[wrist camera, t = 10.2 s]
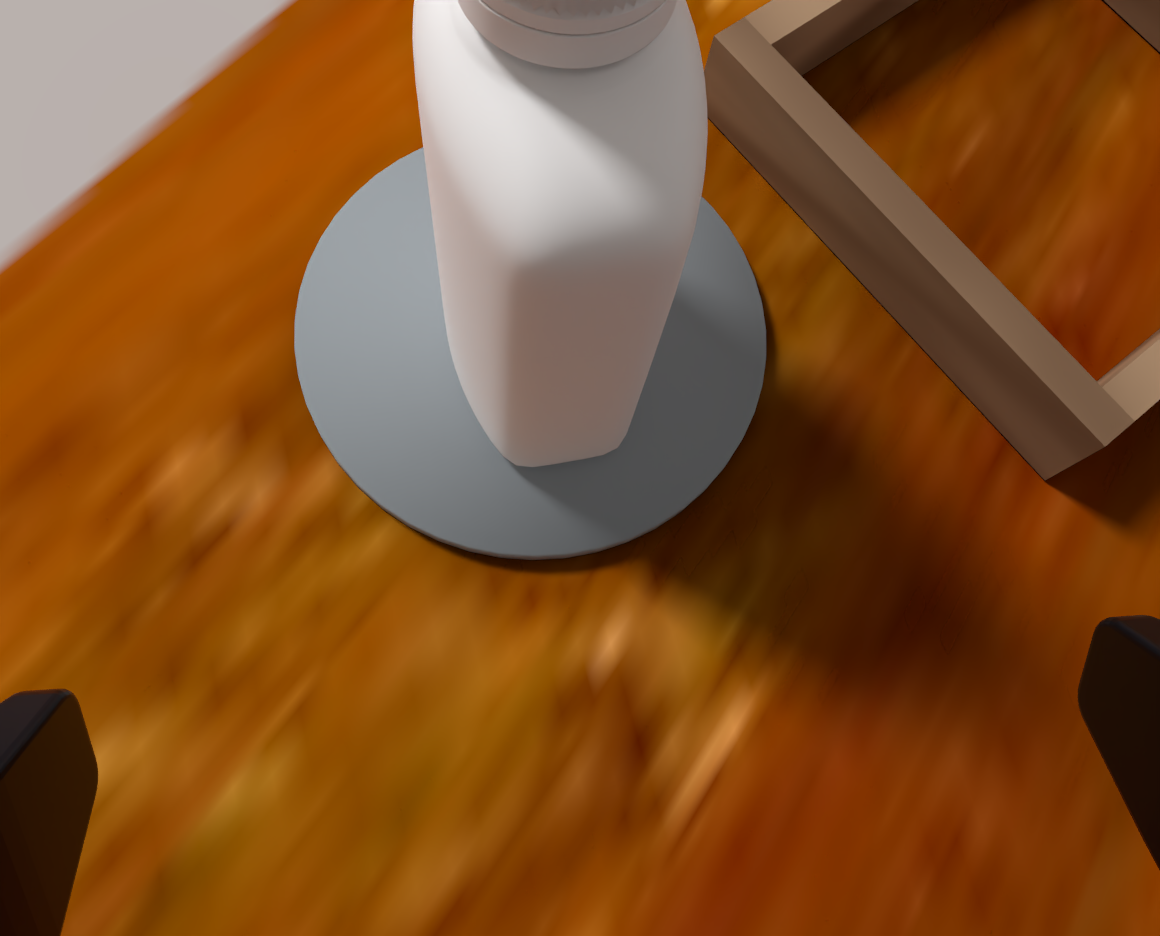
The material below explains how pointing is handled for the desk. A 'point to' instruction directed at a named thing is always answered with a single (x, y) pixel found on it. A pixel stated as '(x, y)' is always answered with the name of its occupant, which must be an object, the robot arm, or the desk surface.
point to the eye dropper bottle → (559, 204)
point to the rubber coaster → (446, 420)
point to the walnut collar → (914, 233)
